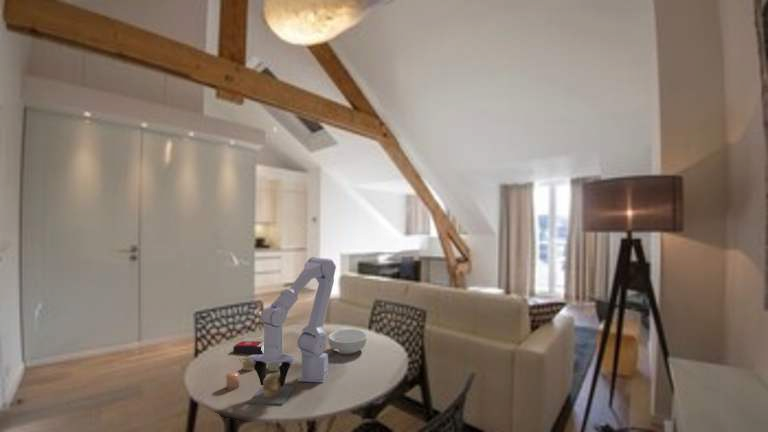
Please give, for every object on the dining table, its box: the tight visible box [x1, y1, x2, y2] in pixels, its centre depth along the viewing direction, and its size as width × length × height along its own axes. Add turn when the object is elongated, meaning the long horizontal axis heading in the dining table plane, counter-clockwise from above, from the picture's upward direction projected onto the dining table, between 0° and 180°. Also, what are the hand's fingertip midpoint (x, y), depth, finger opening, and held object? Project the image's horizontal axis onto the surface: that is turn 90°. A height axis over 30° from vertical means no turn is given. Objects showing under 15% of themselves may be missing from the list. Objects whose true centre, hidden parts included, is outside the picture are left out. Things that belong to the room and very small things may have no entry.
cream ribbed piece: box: [238, 354, 256, 372], centre depth 134 cm, size 4×8×5 cm, turn 126°
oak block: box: [262, 373, 282, 397], centre depth 114 cm, size 4×4×6 cm
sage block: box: [267, 363, 282, 372], centre depth 135 cm, size 4×4×4 cm
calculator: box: [233, 337, 264, 355], centre depth 154 cm, size 11×4×15 cm
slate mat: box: [248, 385, 295, 406], centre depth 114 cm, size 11×11×1 cm
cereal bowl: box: [328, 328, 368, 355], centre depth 153 cm, size 17×17×7 cm
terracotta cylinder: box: [225, 371, 240, 391], centre depth 120 cm, size 4×4×4 cm
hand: (272, 384), depth 114 cm, fingers open, 6 cm apart
